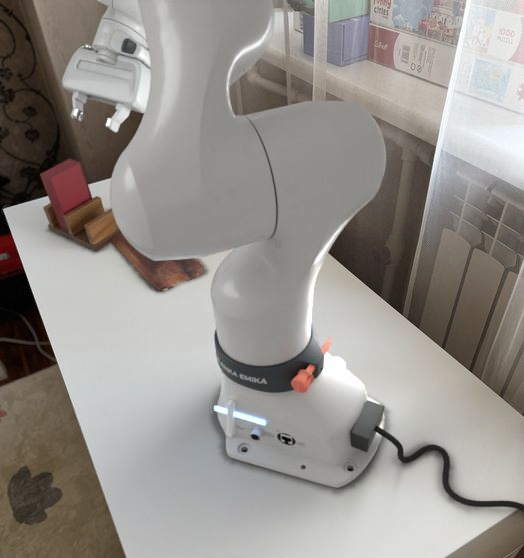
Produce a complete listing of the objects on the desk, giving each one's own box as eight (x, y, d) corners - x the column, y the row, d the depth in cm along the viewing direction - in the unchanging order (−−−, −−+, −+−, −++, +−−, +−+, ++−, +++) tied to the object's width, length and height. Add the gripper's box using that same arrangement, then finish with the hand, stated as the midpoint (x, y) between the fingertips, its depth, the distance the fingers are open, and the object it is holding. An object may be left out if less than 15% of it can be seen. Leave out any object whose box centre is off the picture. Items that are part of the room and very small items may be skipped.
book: (97, 213, 108) (81, 162, 100) (69, 230, 104) (50, 178, 96) (86, 209, 109) (69, 158, 102) (59, 225, 106) (39, 174, 98)
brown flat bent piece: (96, 223, 106) (140, 201, 109) (100, 232, 108) (143, 210, 110) (157, 291, 90) (206, 263, 93) (160, 300, 92) (209, 272, 95)
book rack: (130, 229, 106) (124, 205, 102) (96, 252, 101) (88, 228, 97) (84, 209, 112) (76, 186, 108) (49, 230, 107) (40, 207, 103)
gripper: (68, 32, 97) (43, 106, 99) (147, 47, 88) (119, 128, 90) (93, 51, 103) (69, 121, 105) (171, 68, 94) (143, 144, 96)
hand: (93, 125), depth 97 cm, fingers open, 8 cm apart
